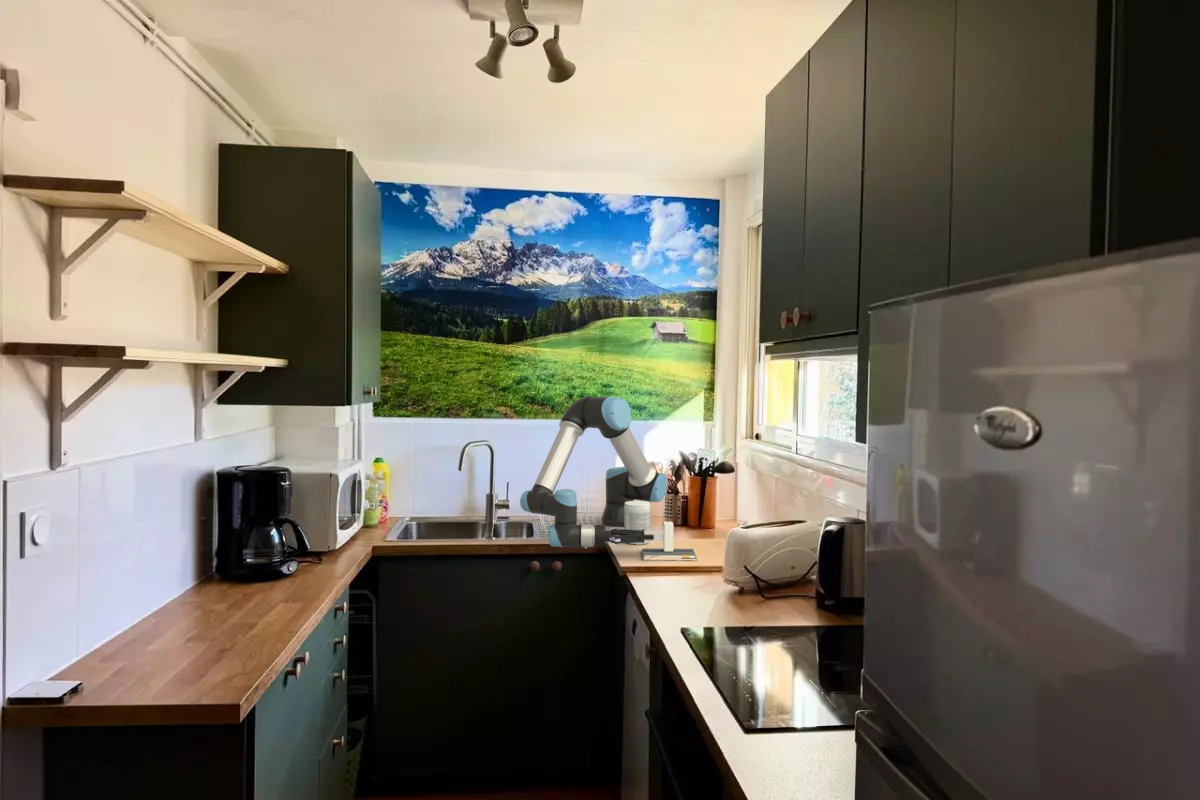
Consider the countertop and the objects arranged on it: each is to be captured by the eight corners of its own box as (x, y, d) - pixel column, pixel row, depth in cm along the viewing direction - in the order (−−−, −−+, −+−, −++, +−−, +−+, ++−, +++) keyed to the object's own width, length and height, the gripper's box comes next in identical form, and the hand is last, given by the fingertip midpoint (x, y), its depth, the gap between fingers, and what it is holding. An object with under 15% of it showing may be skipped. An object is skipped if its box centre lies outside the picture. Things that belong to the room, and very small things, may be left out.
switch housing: (641, 551, 255) (641, 546, 255) (692, 551, 255) (693, 546, 255) (643, 560, 243) (643, 555, 243) (697, 560, 243) (697, 555, 243)
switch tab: (663, 551, 252) (663, 521, 251) (672, 551, 252) (672, 521, 251) (664, 555, 247) (664, 524, 246) (673, 555, 247) (673, 524, 246)
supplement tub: (655, 542, 268) (655, 502, 267) (638, 546, 262) (638, 506, 261) (636, 537, 275) (636, 499, 274) (618, 542, 269) (618, 502, 268)
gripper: (594, 542, 256) (662, 542, 255) (593, 551, 243) (664, 552, 242) (594, 520, 255) (662, 521, 255) (593, 529, 242) (664, 529, 242)
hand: (663, 536), depth 248 cm, fingers closed
